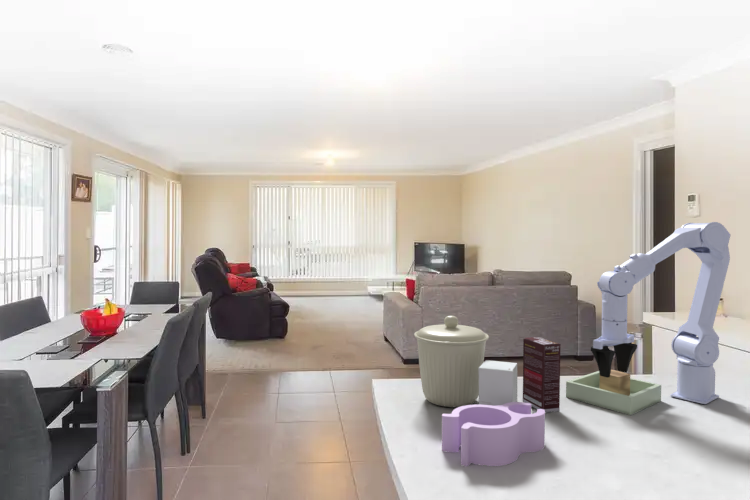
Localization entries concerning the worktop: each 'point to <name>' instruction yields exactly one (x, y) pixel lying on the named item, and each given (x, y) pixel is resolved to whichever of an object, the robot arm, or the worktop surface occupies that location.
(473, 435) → the clip
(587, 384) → the bin
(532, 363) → the supplement box
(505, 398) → the supplement box
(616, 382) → the oak block
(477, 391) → the canister
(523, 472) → the worktop surface
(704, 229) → the robot arm
